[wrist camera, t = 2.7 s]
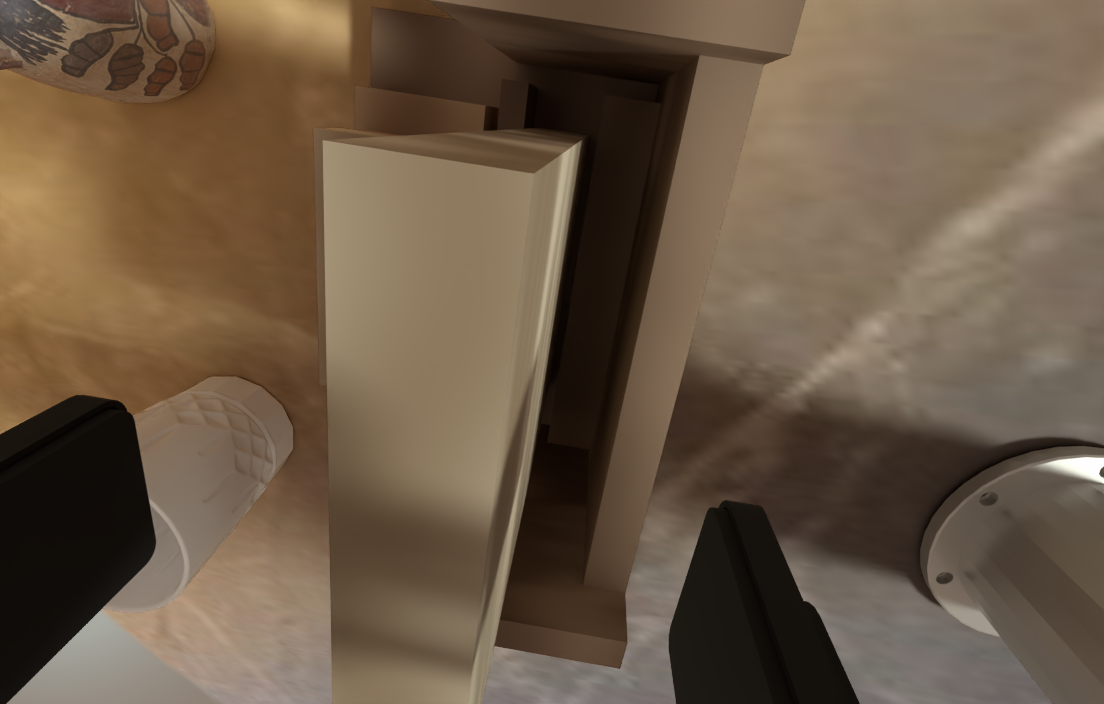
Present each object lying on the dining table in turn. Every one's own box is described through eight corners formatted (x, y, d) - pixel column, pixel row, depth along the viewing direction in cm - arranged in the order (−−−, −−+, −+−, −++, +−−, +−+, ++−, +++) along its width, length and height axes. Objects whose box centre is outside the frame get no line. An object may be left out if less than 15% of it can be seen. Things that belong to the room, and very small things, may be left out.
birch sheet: (588, 134, 24) (533, 174, 5) (549, 385, 28) (445, 877, 10) (542, 127, 24) (322, 139, 5) (510, 378, 28) (335, 856, 10)
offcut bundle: (499, 107, 23) (456, 101, 17) (472, 380, 28) (430, 462, 22) (383, 89, 24) (292, 75, 17) (377, 364, 29) (305, 441, 22)
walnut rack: (696, 61, 23) (810, -16, 11) (613, 441, 31) (620, 668, 18) (385, 13, 24) (126, -118, 11) (376, 400, 31) (216, 595, 18)
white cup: (150, 416, 33) (-26, 529, 24) (224, 338, 31) (61, 430, 21) (253, 502, 35) (127, 638, 26) (331, 435, 32) (223, 559, 23)
